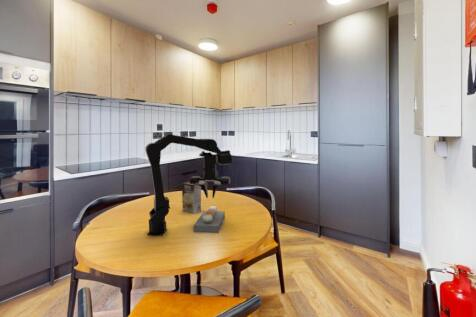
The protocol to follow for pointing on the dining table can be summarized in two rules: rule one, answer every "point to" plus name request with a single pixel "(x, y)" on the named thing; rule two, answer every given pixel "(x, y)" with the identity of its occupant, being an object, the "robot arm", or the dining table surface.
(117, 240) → the dining table surface
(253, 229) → the dining table surface
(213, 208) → the button offwhite
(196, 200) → the coffee box
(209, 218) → the button sage
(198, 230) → the button panel
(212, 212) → the button terracotta
